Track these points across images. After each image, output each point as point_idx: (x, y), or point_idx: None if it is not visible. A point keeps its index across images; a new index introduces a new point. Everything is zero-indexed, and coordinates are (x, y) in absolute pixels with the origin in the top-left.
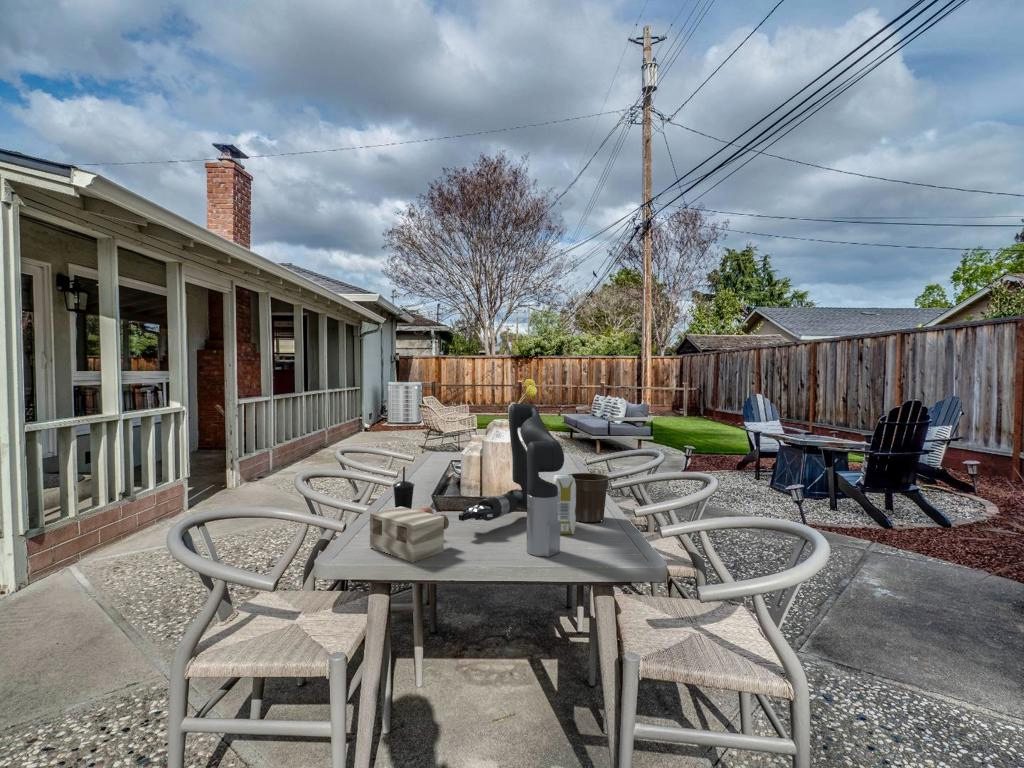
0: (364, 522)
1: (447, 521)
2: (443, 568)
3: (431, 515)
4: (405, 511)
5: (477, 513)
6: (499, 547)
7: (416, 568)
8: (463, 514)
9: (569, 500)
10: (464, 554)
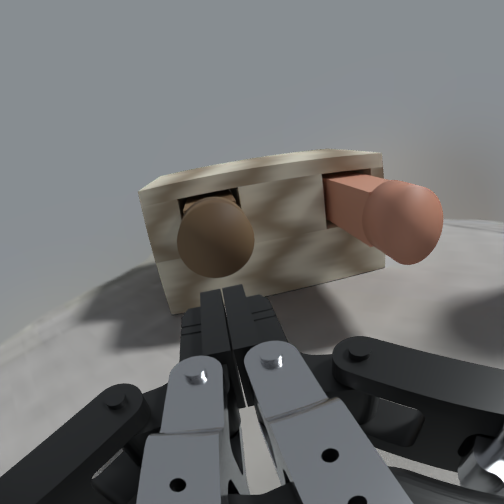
0: None
1: (177, 236)
2: (102, 285)
3: (190, 177)
4: (302, 157)
5: (101, 403)
6: (14, 448)
7: (150, 262)
8: (200, 300)
9: None
10: (98, 341)
